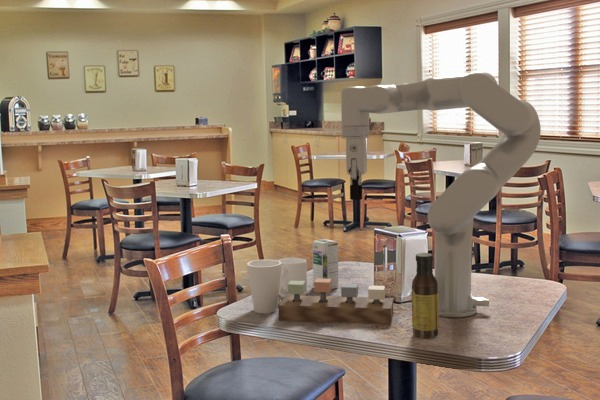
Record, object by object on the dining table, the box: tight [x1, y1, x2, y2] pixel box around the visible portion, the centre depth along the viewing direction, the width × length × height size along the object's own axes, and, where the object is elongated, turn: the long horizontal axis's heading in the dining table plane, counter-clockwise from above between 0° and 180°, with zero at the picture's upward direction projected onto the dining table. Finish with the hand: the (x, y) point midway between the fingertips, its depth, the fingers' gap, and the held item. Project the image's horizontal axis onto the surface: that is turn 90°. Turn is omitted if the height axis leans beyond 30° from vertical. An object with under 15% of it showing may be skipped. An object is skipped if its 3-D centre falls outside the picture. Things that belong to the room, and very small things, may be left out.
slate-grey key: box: [340, 282, 359, 303], centre depth 195 cm, size 4×4×7 cm
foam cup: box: [246, 258, 282, 314], centre depth 203 cm, size 10×9×13 cm
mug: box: [278, 257, 308, 299], centre depth 216 cm, size 12×8×10 cm
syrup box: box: [311, 238, 339, 290], centre depth 225 cm, size 6×6×14 cm
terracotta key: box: [313, 278, 333, 303], centre depth 196 cm, size 4×4×7 cm
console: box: [277, 295, 394, 325], centre depth 196 cm, size 29×10×4 cm, turn 80°
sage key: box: [288, 281, 306, 302], centre depth 197 cm, size 4×4×7 cm
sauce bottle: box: [411, 252, 440, 340], centre depth 178 cm, size 6×6×20 cm
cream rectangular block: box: [367, 285, 386, 304], centre depth 194 cm, size 4×4×7 cm
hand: (356, 199), depth 205 cm, fingers closed
